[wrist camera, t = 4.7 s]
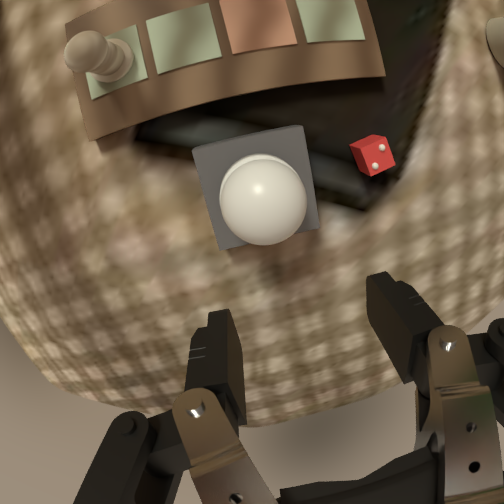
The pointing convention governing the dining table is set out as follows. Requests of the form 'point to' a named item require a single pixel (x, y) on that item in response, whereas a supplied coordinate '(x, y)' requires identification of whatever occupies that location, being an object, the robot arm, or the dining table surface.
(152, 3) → the game board
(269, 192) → the dome
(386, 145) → the red die
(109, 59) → the pawn
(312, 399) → the dining table surface
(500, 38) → the travel mug
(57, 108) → the dining table surface
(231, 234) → the dome housing
